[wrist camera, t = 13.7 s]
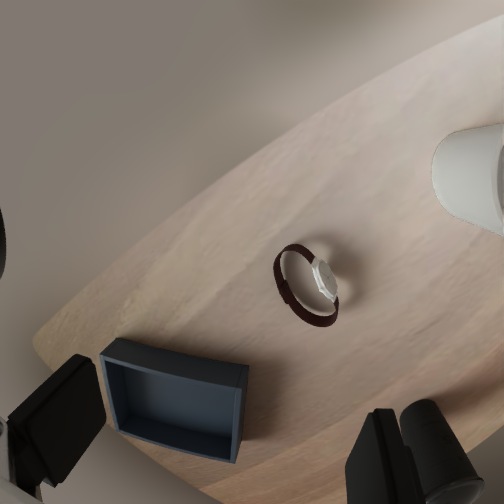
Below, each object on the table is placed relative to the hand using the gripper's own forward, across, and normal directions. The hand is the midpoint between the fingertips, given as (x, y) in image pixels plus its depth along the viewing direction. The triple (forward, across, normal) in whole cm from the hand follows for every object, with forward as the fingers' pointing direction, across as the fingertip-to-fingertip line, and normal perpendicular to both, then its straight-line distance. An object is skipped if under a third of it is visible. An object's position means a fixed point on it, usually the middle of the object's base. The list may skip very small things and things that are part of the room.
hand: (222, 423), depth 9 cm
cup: (+19, -18, -9) cm, 28 cm away
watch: (+20, -3, +2) cm, 20 cm away
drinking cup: (+19, -20, +16) cm, 32 cm away
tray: (+20, +8, +18) cm, 28 cm away
